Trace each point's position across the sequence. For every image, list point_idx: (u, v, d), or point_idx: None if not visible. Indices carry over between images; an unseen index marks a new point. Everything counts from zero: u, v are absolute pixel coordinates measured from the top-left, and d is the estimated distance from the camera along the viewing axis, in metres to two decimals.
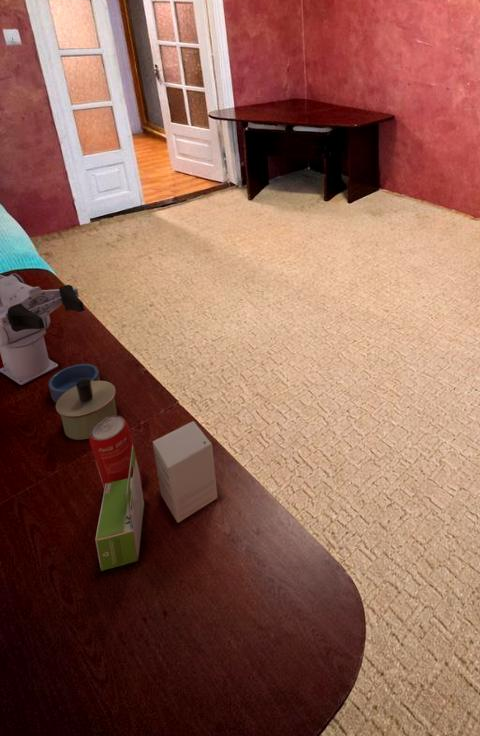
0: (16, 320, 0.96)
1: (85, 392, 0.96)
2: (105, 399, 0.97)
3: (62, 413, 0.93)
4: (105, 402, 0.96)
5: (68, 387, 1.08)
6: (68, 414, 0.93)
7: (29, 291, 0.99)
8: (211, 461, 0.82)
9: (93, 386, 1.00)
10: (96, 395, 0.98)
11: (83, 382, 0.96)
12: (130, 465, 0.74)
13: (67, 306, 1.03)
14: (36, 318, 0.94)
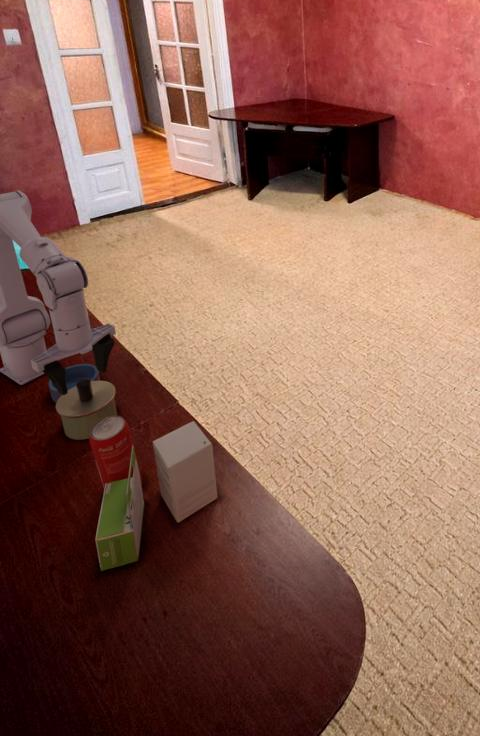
0: None
1: (85, 392, 0.96)
2: (105, 399, 0.97)
3: (62, 413, 0.93)
4: (105, 402, 0.96)
5: (68, 387, 1.08)
6: (68, 414, 0.93)
7: (81, 352, 0.90)
8: (211, 461, 0.82)
9: (93, 386, 1.00)
10: (96, 395, 0.98)
11: (83, 382, 0.96)
12: (130, 465, 0.74)
13: (93, 346, 0.98)
14: (63, 392, 0.92)
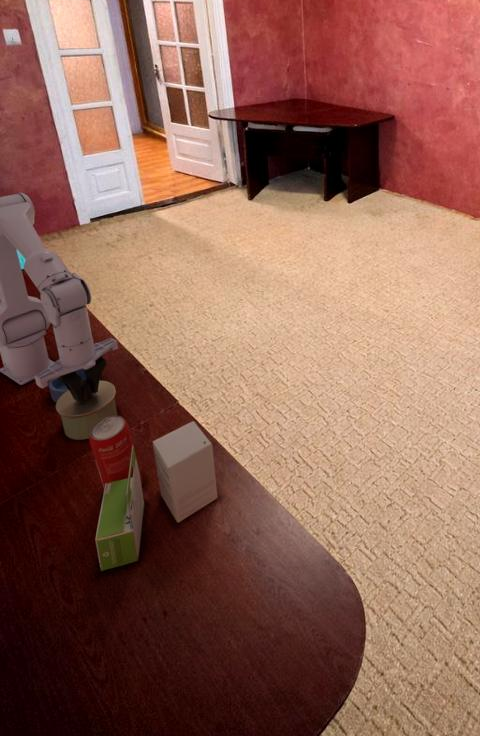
0: None
1: (85, 392, 0.96)
2: (105, 399, 0.97)
3: (62, 413, 0.93)
4: (105, 402, 0.96)
5: None
6: (68, 414, 0.93)
7: (84, 368, 0.92)
8: (211, 461, 0.82)
9: None
10: (96, 395, 0.98)
11: (83, 382, 0.96)
12: (130, 465, 0.74)
13: None
14: (79, 399, 0.95)
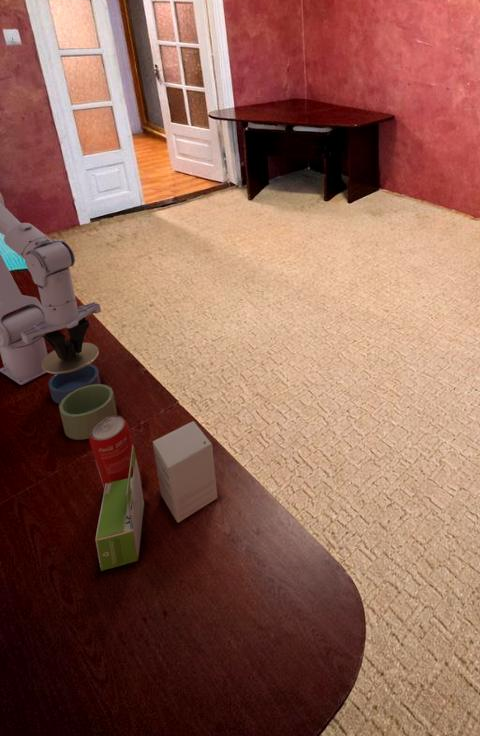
0: None
1: (69, 351, 1.02)
2: (88, 358, 1.03)
3: (47, 369, 0.99)
4: (88, 360, 1.03)
5: (68, 387, 1.08)
6: (53, 370, 0.99)
7: (68, 327, 0.98)
8: (211, 461, 0.82)
9: None
10: (80, 355, 1.04)
11: (68, 342, 1.02)
12: (130, 465, 0.74)
13: (69, 328, 1.03)
14: (63, 357, 1.01)
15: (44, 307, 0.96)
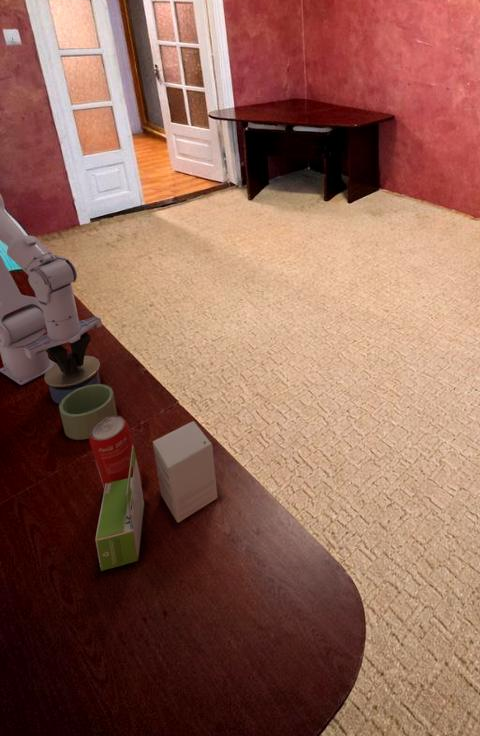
0: None
1: (71, 365, 1.04)
2: (90, 371, 1.06)
3: (50, 383, 1.02)
4: (90, 373, 1.05)
5: (68, 387, 1.08)
6: (55, 384, 1.01)
7: (70, 341, 1.00)
8: (211, 461, 0.82)
9: None
10: (82, 368, 1.07)
11: (70, 356, 1.05)
12: (130, 465, 0.74)
13: None
14: (66, 371, 1.04)
15: (47, 322, 0.99)
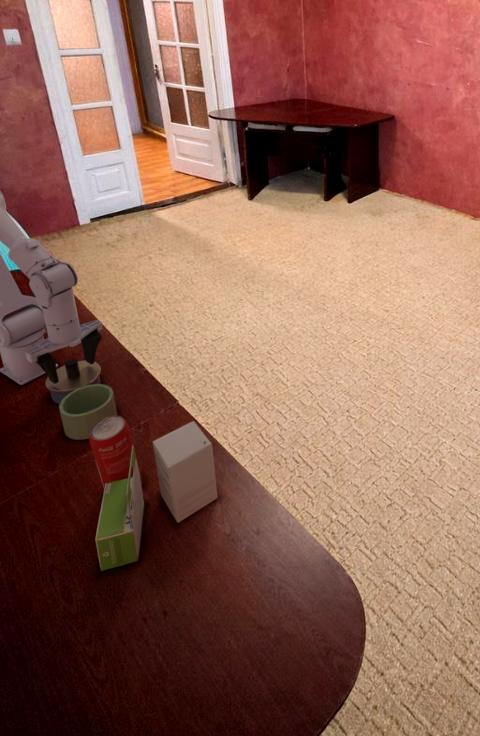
0: None
1: (73, 370, 1.05)
2: (91, 376, 1.06)
3: (51, 388, 1.02)
4: (91, 379, 1.06)
5: None
6: (57, 389, 1.02)
7: (71, 345, 1.01)
8: (211, 461, 0.82)
9: (80, 365, 1.09)
10: (83, 373, 1.07)
11: (71, 361, 1.05)
12: (130, 465, 0.74)
13: (82, 340, 1.08)
14: (55, 381, 1.02)
15: (48, 326, 0.99)
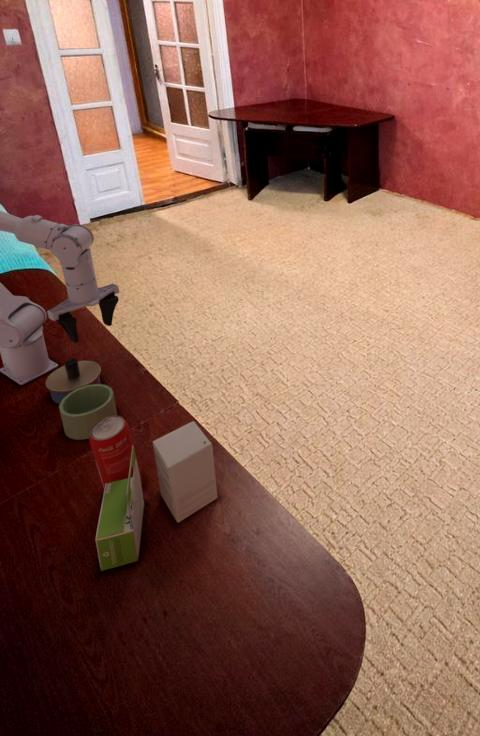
0: None
1: (73, 370, 1.05)
2: (91, 376, 1.06)
3: (51, 388, 1.02)
4: (91, 379, 1.06)
5: None
6: (57, 389, 1.02)
7: (90, 305, 1.05)
8: (211, 461, 0.82)
9: (80, 365, 1.09)
10: (83, 373, 1.07)
11: (71, 361, 1.05)
12: (130, 465, 0.74)
13: (100, 303, 1.13)
14: (75, 340, 1.07)
15: (68, 287, 1.04)
